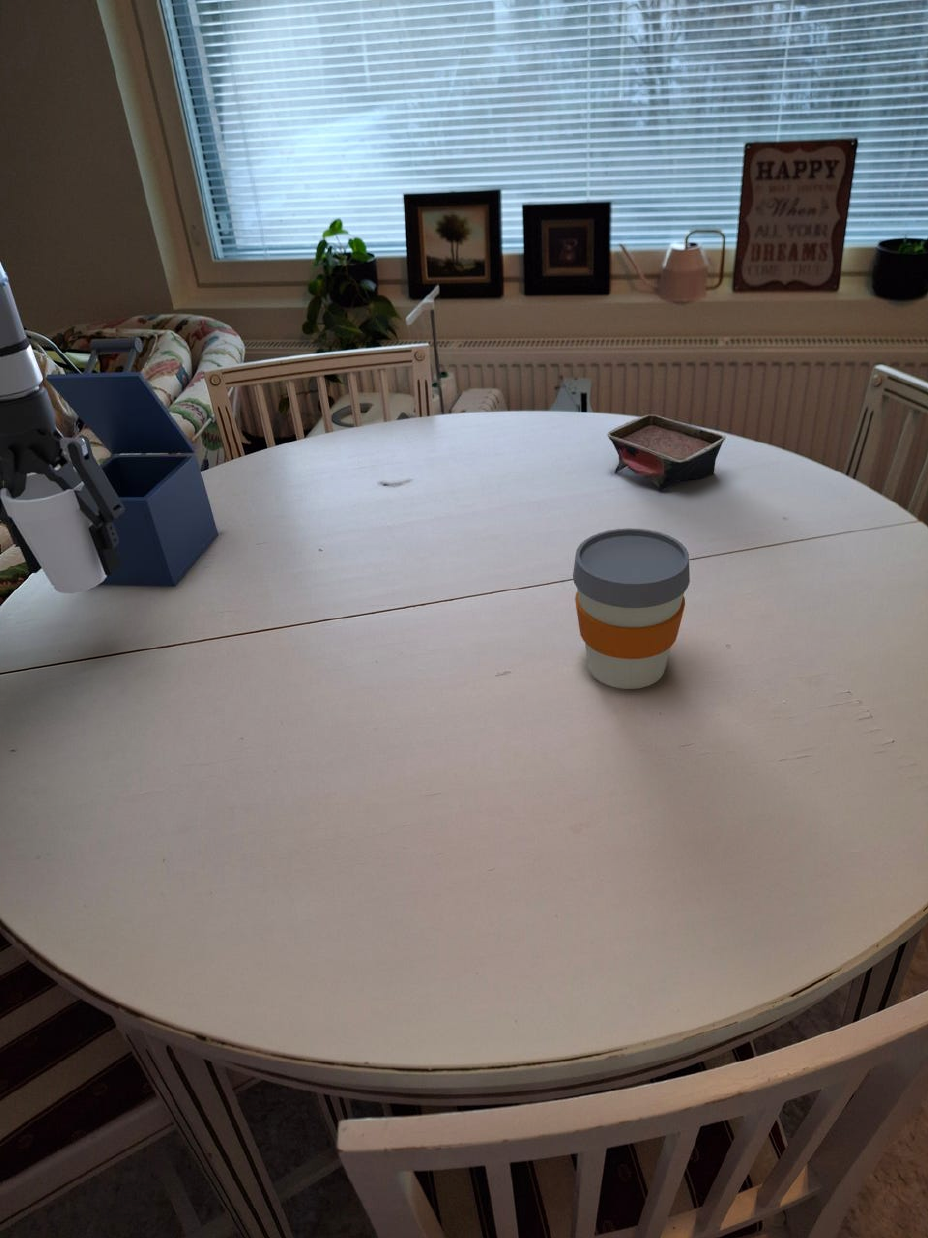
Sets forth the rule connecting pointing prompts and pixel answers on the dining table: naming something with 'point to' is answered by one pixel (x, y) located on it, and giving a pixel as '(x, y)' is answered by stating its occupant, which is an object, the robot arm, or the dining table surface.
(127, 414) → the lid
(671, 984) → the dining table surface
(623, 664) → the reusable coffee cup
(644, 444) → the bonsai pot
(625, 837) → the dining table surface
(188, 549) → the box
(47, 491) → the foam cup
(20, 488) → the robot arm
